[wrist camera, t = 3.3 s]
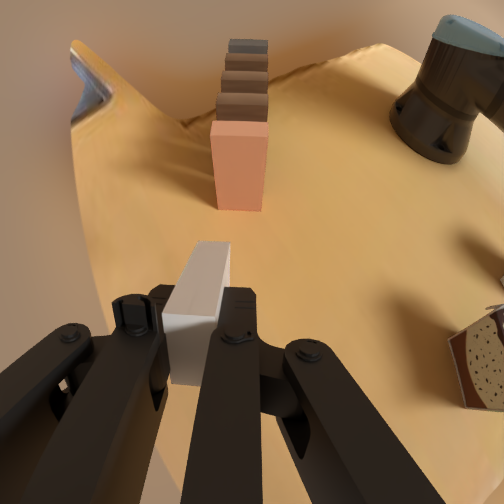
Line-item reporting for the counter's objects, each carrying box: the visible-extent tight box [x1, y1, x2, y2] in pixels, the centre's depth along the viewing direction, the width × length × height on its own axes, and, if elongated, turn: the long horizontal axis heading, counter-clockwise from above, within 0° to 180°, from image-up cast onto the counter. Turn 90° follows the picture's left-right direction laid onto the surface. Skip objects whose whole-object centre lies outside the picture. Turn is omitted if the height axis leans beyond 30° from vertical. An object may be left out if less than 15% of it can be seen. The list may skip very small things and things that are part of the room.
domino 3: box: [221, 71, 268, 94], centre depth 35 cm, size 2×5×12 cm, turn 88°
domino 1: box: [229, 39, 268, 54], centre depth 39 cm, size 2×5×12 cm, turn 88°
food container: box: [447, 304, 504, 412], centre depth 24 cm, size 12×6×10 cm, turn 14°
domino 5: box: [210, 121, 268, 211], centre depth 31 cm, size 2×5×12 cm, turn 88°
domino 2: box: [225, 53, 268, 72], centre depth 37 cm, size 2×5×12 cm, turn 88°
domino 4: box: [216, 93, 268, 122], centre depth 33 cm, size 2×5×12 cm, turn 88°
